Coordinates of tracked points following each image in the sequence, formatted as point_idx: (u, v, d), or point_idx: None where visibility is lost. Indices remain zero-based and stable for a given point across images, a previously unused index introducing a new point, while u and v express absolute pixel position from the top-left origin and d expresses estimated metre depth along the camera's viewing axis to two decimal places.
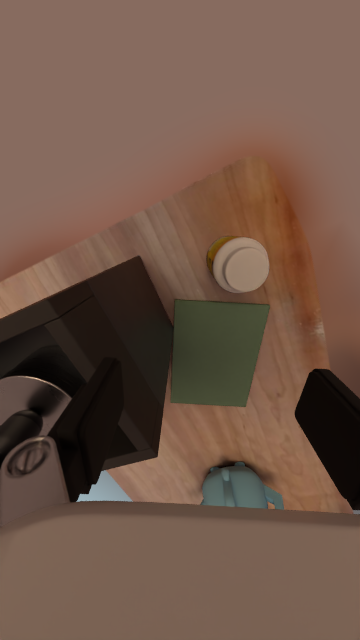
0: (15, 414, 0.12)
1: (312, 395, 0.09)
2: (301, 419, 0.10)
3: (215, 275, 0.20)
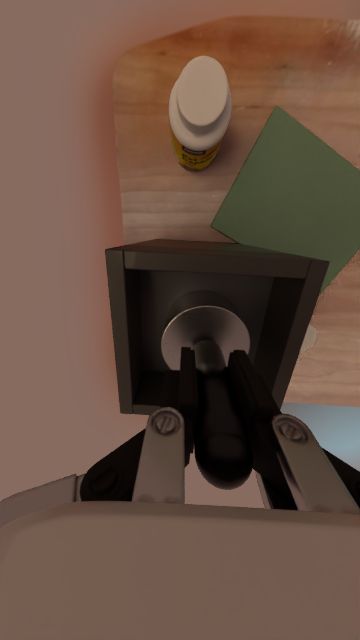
0: None
1: (230, 373, 0.10)
2: None
3: (195, 146, 0.18)
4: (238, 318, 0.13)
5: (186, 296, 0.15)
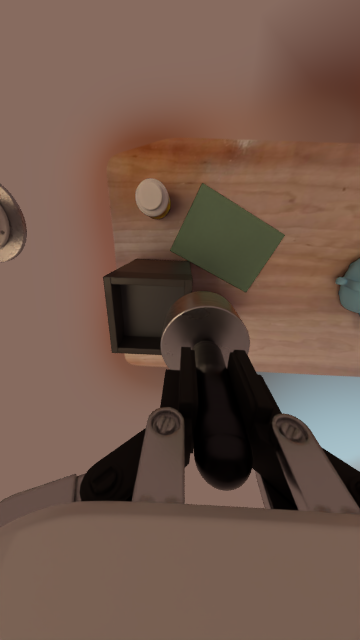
0: None
1: (229, 373, 0.10)
2: None
3: (150, 215, 0.34)
4: (238, 318, 0.13)
5: (186, 296, 0.15)
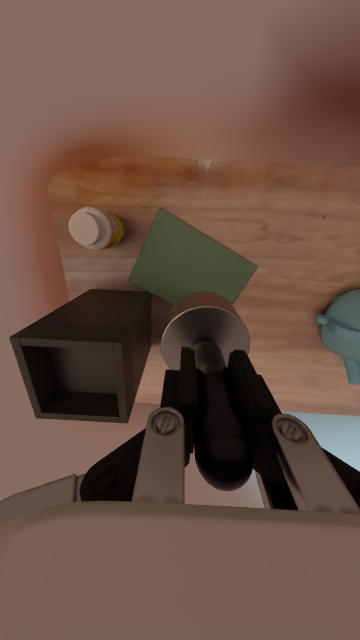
0: None
1: (229, 373, 0.10)
2: None
3: (91, 249, 0.29)
4: (238, 318, 0.13)
5: (186, 296, 0.15)
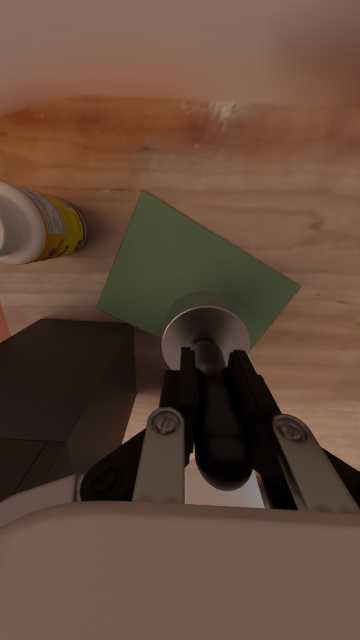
0: None
1: (230, 373, 0.10)
2: None
3: (8, 263, 0.15)
4: (238, 318, 0.13)
5: (186, 296, 0.15)
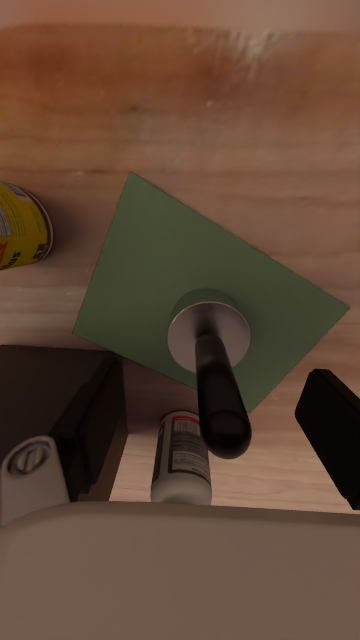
0: (195, 344, 0.13)
1: (312, 395, 0.09)
2: (301, 419, 0.10)
3: None
4: (239, 313, 0.13)
5: (190, 293, 0.16)
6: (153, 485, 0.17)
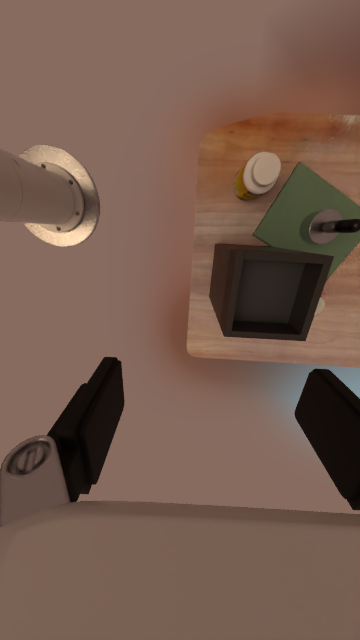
0: (324, 225, 0.37)
1: (312, 395, 0.09)
2: (301, 419, 0.10)
3: (257, 192, 0.32)
4: (340, 214, 0.37)
5: (313, 212, 0.39)
6: None
